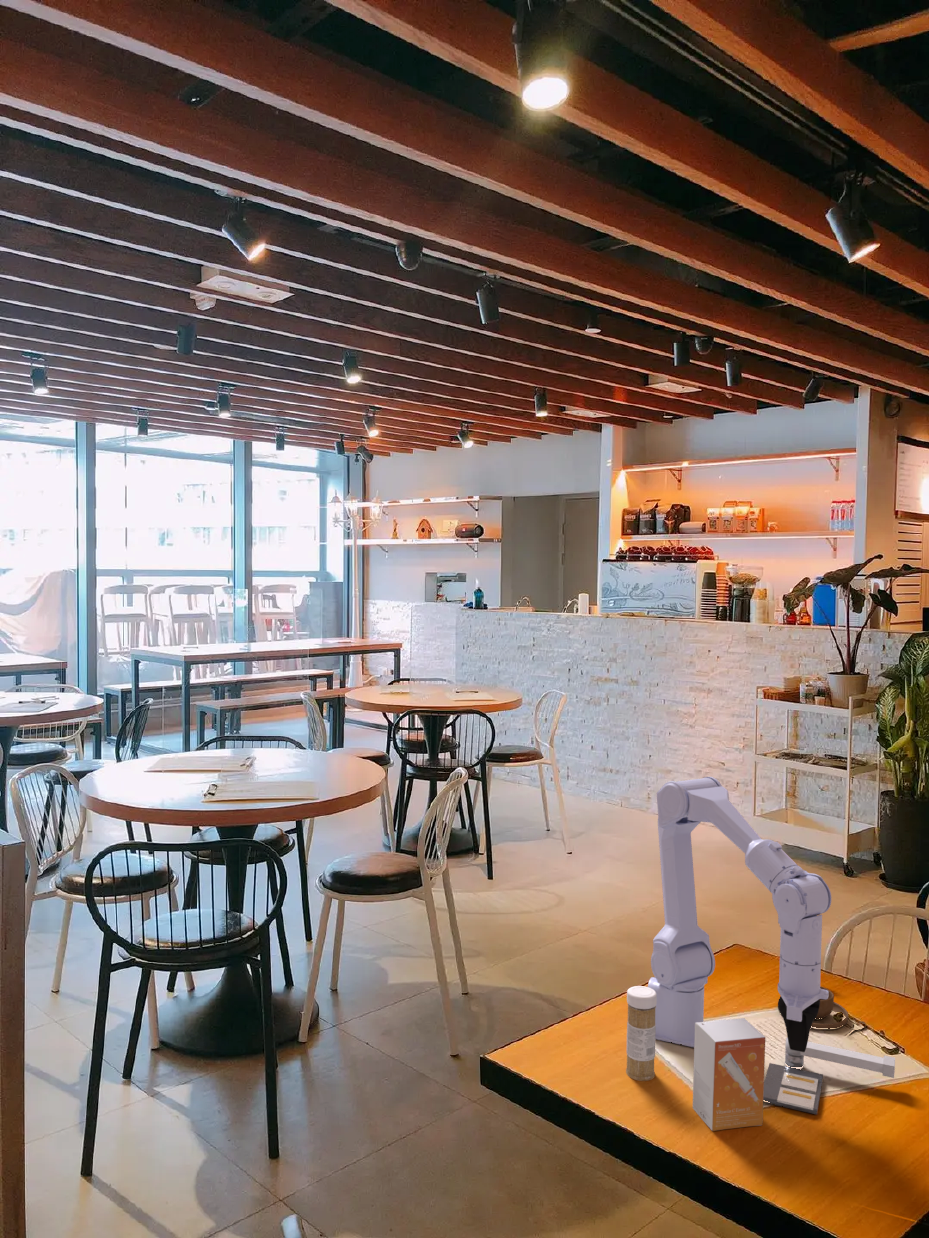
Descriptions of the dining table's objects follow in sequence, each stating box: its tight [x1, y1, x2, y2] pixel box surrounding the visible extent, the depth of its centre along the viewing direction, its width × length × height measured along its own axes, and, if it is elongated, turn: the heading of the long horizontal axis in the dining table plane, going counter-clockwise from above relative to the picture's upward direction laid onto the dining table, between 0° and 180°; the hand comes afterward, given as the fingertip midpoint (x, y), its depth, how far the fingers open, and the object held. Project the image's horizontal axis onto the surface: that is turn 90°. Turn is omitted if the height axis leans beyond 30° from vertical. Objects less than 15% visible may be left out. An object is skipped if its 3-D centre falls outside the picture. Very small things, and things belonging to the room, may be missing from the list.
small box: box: [692, 1017, 766, 1132], centre depth 138 cm, size 8×6×13 cm
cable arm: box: [785, 1037, 896, 1079], centre depth 150 cm, size 16×3×2 cm, turn 63°
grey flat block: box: [763, 1051, 824, 1116], centre depth 147 cm, size 8×15×2 cm, turn 155°
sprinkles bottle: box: [625, 985, 657, 1082], centre depth 149 cm, size 5×5×14 cm
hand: (797, 1048), depth 141 cm, fingers closed
